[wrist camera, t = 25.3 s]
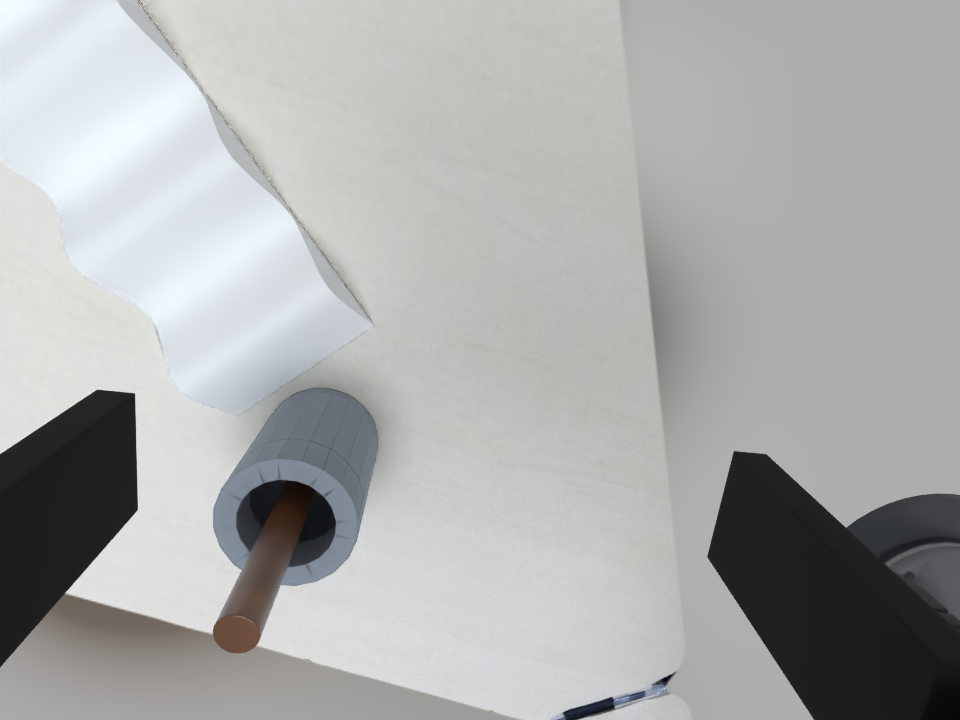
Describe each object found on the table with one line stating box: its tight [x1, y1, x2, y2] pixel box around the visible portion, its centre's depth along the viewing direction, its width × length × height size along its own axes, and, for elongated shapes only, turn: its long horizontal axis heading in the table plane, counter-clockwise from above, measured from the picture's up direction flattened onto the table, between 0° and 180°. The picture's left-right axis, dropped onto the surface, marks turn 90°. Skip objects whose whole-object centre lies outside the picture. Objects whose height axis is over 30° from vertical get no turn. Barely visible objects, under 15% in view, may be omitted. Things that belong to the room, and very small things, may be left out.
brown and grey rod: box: [213, 480, 321, 653], centre depth 42 cm, size 4×4×22 cm
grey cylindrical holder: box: [213, 388, 378, 586], centre depth 47 cm, size 9×9×13 cm
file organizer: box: [0, 0, 374, 416], centre depth 45 cm, size 13×35×5 cm, turn 33°
